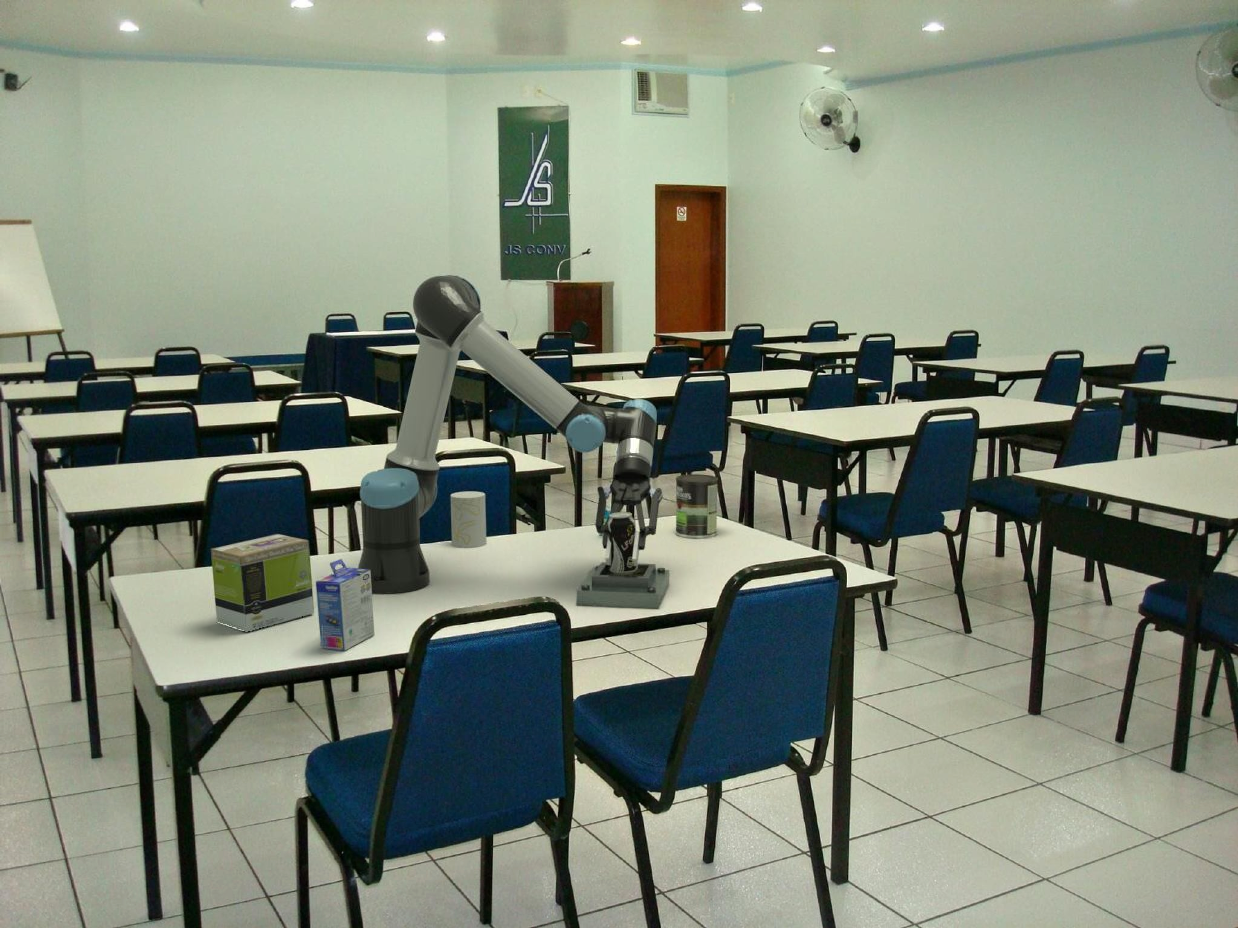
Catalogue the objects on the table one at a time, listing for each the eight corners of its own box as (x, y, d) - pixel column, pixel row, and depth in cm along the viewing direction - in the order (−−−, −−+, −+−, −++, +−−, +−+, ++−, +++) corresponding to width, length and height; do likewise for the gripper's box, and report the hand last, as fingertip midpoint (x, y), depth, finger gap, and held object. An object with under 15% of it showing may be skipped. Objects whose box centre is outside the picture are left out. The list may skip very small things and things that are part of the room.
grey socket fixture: (593, 581, 243) (593, 557, 242) (669, 583, 240) (669, 560, 239) (576, 605, 225) (576, 580, 224) (658, 608, 223) (658, 583, 222)
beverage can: (620, 577, 228) (617, 518, 226) (604, 572, 233) (600, 514, 231) (644, 572, 231) (640, 513, 229) (627, 567, 236) (623, 509, 234)
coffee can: (689, 540, 279) (689, 482, 277) (667, 532, 288) (668, 476, 286) (725, 535, 284) (726, 479, 281) (703, 527, 293) (703, 472, 290)
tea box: (283, 605, 226) (279, 532, 224) (315, 615, 220) (311, 539, 217) (214, 624, 215) (209, 546, 212) (245, 634, 208) (240, 554, 206)
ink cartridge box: (349, 631, 210) (345, 553, 207) (376, 634, 208) (372, 556, 205) (317, 648, 200) (313, 567, 198) (345, 651, 199) (341, 569, 196)
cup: (446, 546, 274) (444, 496, 272) (460, 539, 282) (459, 490, 280) (478, 548, 272) (476, 498, 270) (491, 541, 279) (490, 492, 277)
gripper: (677, 476, 243) (667, 573, 229) (594, 475, 246) (580, 570, 232) (674, 455, 237) (664, 553, 223) (589, 454, 240) (574, 550, 226)
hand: (621, 561), depth 228 cm, fingers closed on beverage can, 5 cm apart
